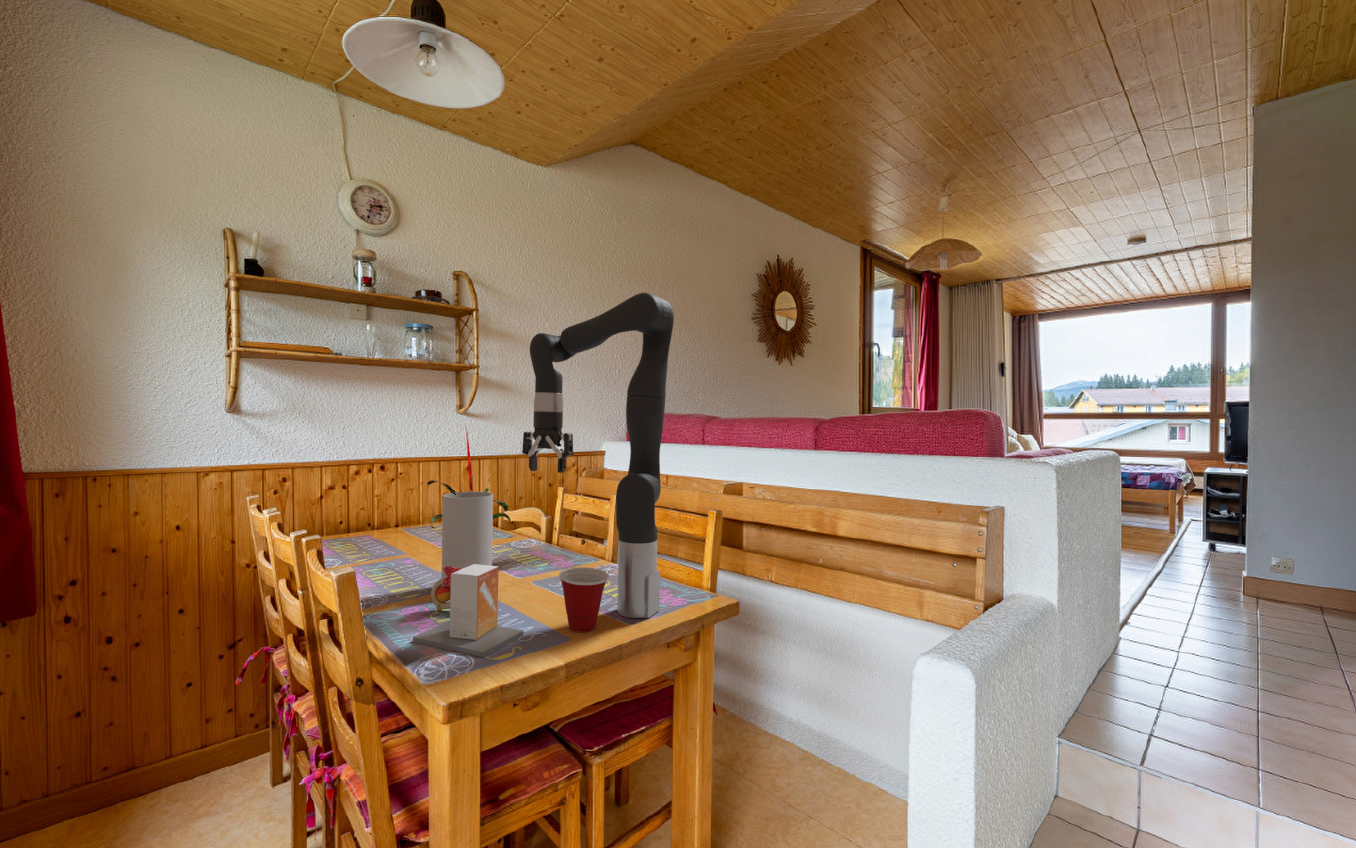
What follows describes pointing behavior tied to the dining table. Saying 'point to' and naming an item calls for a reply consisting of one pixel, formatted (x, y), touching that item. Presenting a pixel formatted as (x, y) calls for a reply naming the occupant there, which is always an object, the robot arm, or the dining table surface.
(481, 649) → the slate tile
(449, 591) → the bird rattle
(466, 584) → the small box
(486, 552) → the cylinder vase
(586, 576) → the plastic cup
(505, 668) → the dining table surface
